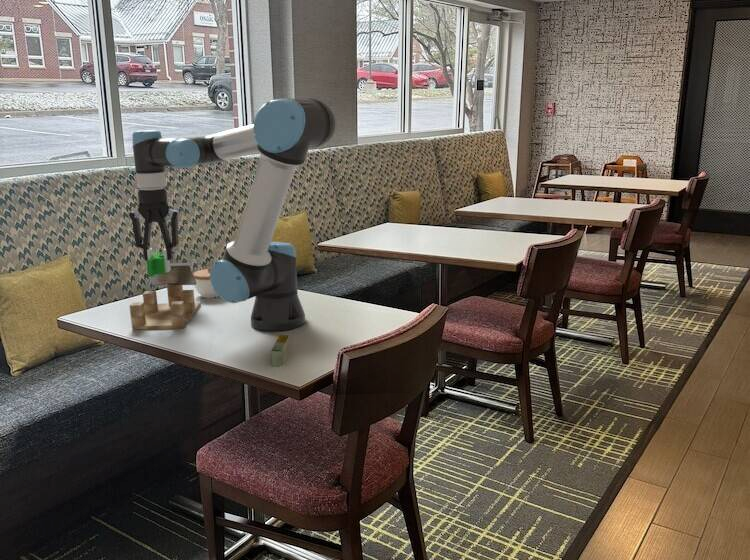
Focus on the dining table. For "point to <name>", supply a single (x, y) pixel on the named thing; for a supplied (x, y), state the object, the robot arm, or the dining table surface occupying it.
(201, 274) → the lidded jar
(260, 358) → the dining table surface
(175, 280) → the plate
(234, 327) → the dining table surface
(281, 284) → the robot arm
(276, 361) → the medication box
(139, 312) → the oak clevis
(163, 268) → the pipe clamp
